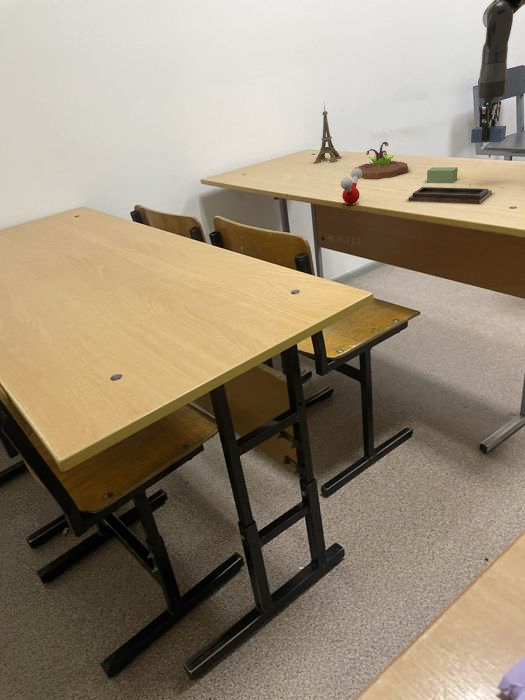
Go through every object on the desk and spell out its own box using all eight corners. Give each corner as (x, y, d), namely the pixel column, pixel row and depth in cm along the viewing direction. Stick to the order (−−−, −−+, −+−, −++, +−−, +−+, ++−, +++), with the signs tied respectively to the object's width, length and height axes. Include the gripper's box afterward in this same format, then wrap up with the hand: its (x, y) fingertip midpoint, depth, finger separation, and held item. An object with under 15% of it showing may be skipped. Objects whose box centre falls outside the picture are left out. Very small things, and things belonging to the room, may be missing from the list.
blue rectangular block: (505, 139, 167) (506, 125, 165) (500, 142, 164) (501, 128, 162) (476, 139, 172) (476, 126, 170) (470, 142, 169) (471, 129, 167)
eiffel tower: (341, 157, 249) (338, 99, 236) (336, 162, 240) (332, 101, 228) (320, 158, 253) (316, 101, 240) (313, 163, 244) (309, 104, 232)
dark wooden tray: (491, 193, 164) (492, 187, 163) (479, 204, 156) (479, 197, 155) (422, 191, 177) (422, 185, 176) (408, 201, 169) (408, 194, 168)
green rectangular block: (457, 179, 185) (457, 167, 183) (452, 182, 182) (452, 170, 180) (432, 178, 190) (432, 167, 189) (426, 182, 187) (427, 170, 185)
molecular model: (357, 210, 166) (356, 178, 161) (338, 211, 168) (337, 179, 163) (363, 196, 181) (362, 166, 176) (346, 197, 182) (345, 167, 178)
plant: (417, 171, 203) (418, 140, 198) (372, 181, 199) (371, 149, 193) (390, 164, 220) (390, 136, 215) (348, 173, 216) (346, 144, 210)
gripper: (498, 81, 153) (493, 143, 161) (512, 75, 162) (507, 134, 170) (472, 83, 157) (468, 143, 165) (487, 78, 167) (483, 135, 175)
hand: (488, 138), depth 168 cm, fingers closed on blue rectangular block, 5 cm apart
